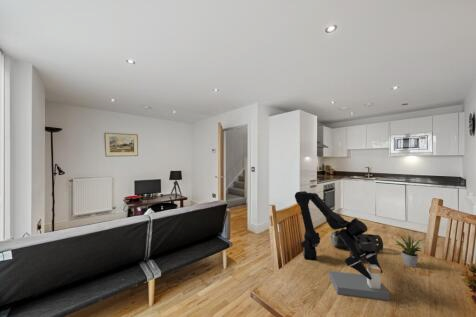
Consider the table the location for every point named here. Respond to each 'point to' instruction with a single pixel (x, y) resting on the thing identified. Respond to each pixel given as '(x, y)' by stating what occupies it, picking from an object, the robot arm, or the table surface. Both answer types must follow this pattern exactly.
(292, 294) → the table surface
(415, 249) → the house plant
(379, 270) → the plug
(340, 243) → the muzzle brake
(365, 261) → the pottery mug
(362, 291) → the socket block
